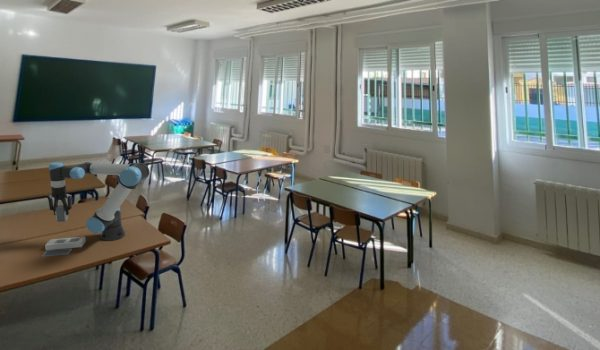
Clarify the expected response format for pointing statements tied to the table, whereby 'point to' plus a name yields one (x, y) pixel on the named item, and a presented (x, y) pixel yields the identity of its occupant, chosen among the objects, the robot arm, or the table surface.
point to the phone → (57, 252)
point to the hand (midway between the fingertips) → (62, 219)
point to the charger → (60, 213)
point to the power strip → (65, 243)
